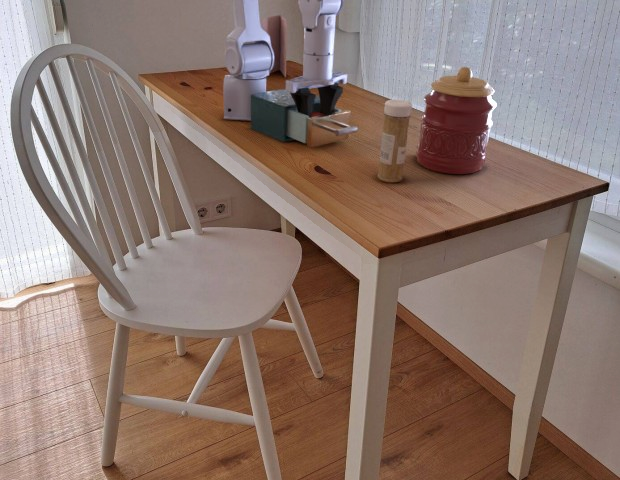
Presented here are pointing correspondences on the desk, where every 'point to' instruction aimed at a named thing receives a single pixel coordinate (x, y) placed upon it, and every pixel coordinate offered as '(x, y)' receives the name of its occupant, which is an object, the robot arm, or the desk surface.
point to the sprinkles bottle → (394, 140)
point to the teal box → (272, 113)
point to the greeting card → (277, 40)
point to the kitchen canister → (456, 124)
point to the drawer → (318, 126)
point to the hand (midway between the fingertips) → (315, 124)
